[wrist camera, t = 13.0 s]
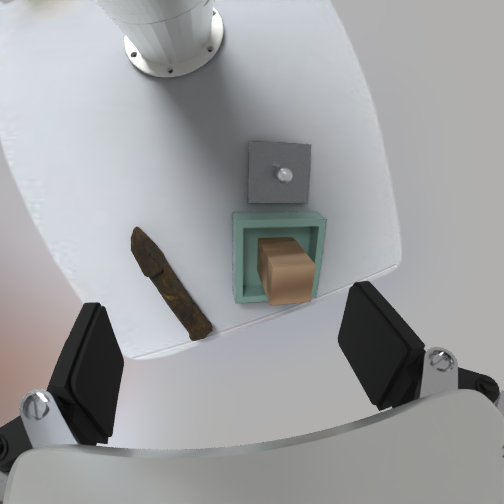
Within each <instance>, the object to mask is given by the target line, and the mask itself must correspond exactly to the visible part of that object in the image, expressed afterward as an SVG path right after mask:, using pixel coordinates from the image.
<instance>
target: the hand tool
mask: <svg viewBox="0 0 504 504" xmlns="http://www.w3.org/2000/svg"><path fill="white" fill-rule="evenodd" d="M131 251H132V253H133V255H134V257H135V259H136V260H137V262H138V264H139V266H140V268H141V270H142V272H143V274H144V275H145V276H146V277H149V278H150V279H151V281H152V282H153V283H154V285H155V286H156V287H157V289H158V291H159V292H160V294H161V295H162V297H163V298H164V300H165V301H166V303H167V304H168V306H169V307H170V308H171V310H172V311H173V312H174V314H175V315H176V317H177V318H178V319H179V321H180V322H181V323H182V324H183V326H184V327H185V328H186V330H187V331H188V333H189V337H190V339H191V340H192V341H196V340H200V339H204V338H205V337H206V336H207V335H208V334H209V333H210V332H212V325H211V323H210V321H207V320H206V318H205V316H204V315H203V314H201V312H200V311H199V309H198V307H197V306H196V305H195V303H194V302H193V301H192V300H191V298H190V297H189V295H188V293H187V291H186V290H185V289H184V288H183V286H182V285H181V283H180V282H179V280H178V279H177V278H176V276H175V274H174V273H173V271H172V270H171V268H170V267H169V265H168V264H167V262H166V260H165V258H164V255H163V253H162V252H161V250H160V249H159V248H158V246H157V245H156V244H155V243H154V242H153V241H152V240H151V239H150V238H149V237H148V236H147V235H146V234H145V233H144V232H143V231H142V230H141V229H140V228H139V227H135V229H134V230H133V233H132V236H131Z"/></svg>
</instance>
